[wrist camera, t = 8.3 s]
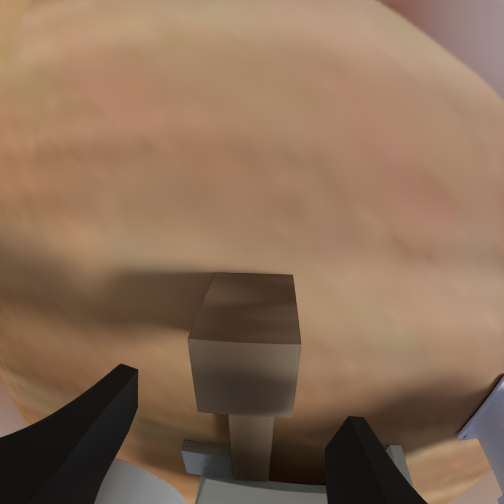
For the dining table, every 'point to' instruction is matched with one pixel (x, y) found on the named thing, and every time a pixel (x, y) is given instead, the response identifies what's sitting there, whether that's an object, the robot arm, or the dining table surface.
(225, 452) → the grey square block
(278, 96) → the dining table surface
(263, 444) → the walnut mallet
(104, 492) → the lumpy-topped squat cylinder
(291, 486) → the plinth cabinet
